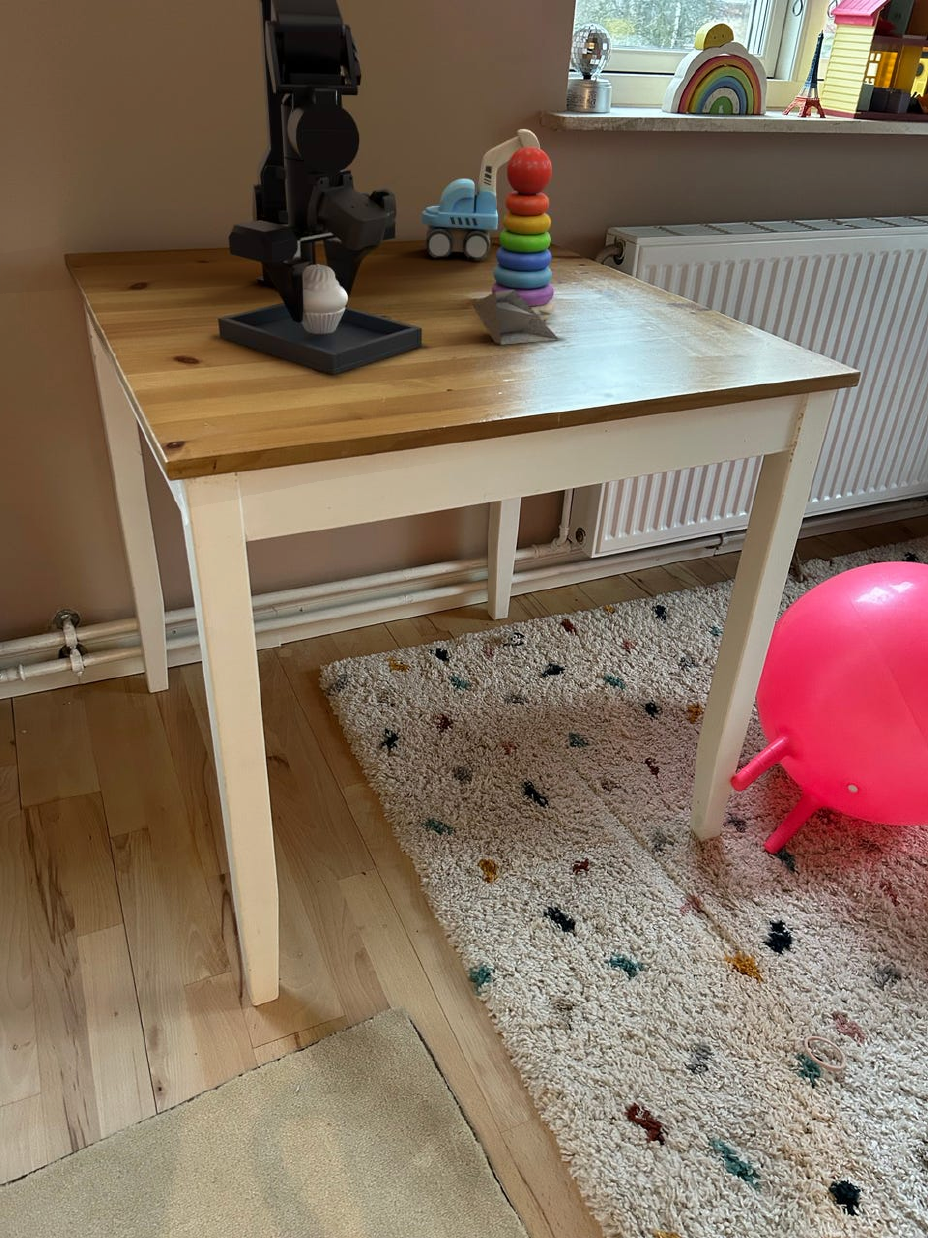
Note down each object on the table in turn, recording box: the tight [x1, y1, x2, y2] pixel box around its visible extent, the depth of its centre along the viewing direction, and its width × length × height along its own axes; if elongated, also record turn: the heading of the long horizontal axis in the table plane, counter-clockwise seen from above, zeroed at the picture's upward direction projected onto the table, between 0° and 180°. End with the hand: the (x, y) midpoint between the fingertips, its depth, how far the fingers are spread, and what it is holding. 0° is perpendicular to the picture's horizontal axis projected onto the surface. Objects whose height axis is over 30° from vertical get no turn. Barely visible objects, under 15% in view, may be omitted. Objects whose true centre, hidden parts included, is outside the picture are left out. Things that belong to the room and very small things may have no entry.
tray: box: [217, 302, 423, 376], centre depth 104 cm, size 14×18×2 cm
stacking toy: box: [491, 147, 555, 322], centre depth 112 cm, size 8×8×19 cm
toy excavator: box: [421, 128, 541, 262], centre depth 139 cm, size 9×17×17 cm, turn 89°
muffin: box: [301, 262, 349, 334], centre depth 102 cm, size 6×6×7 cm
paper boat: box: [471, 290, 560, 346], centre depth 106 cm, size 12×6×9 cm
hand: (319, 315), depth 103 cm, fingers closed on muffin, 6 cm apart
